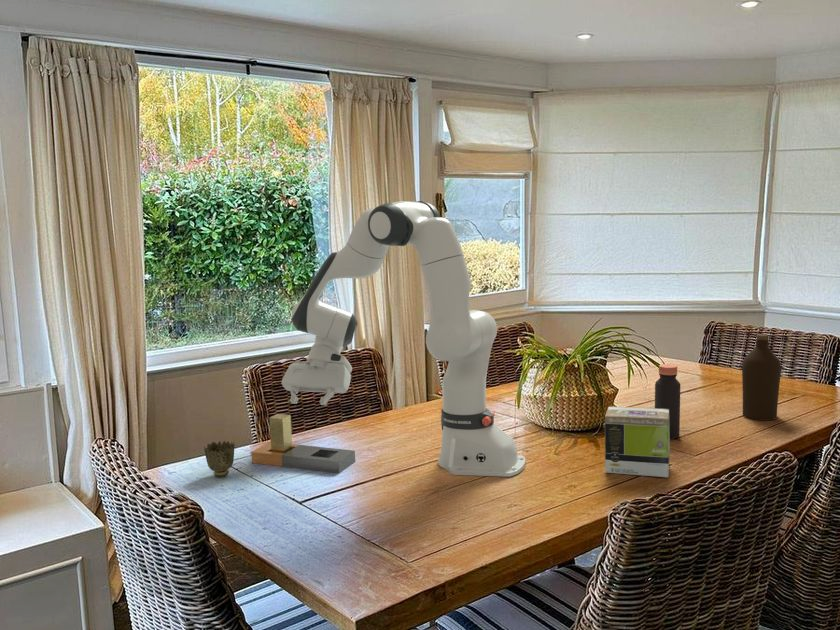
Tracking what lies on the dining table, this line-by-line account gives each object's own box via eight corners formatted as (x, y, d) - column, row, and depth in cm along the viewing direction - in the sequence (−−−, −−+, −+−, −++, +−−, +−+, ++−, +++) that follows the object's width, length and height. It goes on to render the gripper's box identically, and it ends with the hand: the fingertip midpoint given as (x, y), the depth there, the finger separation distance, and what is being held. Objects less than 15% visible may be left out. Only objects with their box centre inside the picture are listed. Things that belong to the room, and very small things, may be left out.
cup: (228, 481, 187) (226, 450, 186) (200, 480, 189) (198, 449, 187) (241, 471, 194) (239, 441, 193) (214, 469, 196) (212, 440, 195)
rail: (355, 461, 199) (354, 450, 199) (339, 473, 191) (338, 461, 190) (270, 452, 209) (270, 441, 208) (251, 462, 200) (251, 452, 200)
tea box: (669, 465, 190) (670, 407, 188) (668, 479, 180) (669, 419, 178) (607, 460, 195) (608, 404, 192) (603, 473, 185) (604, 415, 183)
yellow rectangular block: (292, 458, 203) (290, 414, 201) (285, 463, 200) (282, 418, 198) (280, 456, 205) (277, 413, 203) (271, 461, 201) (269, 417, 199)
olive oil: (755, 422, 222) (758, 338, 219) (733, 413, 233) (735, 333, 229) (786, 419, 225) (790, 336, 221) (763, 410, 235) (766, 330, 231)
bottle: (667, 430, 218) (668, 362, 215) (684, 436, 212) (686, 366, 209) (648, 434, 215) (650, 365, 212) (666, 440, 209) (667, 369, 206)
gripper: (286, 355, 221) (271, 395, 213) (349, 356, 213) (335, 399, 206) (295, 367, 226) (280, 407, 218) (357, 368, 218) (344, 410, 210)
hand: (307, 403), depth 212 cm, fingers open, 8 cm apart
